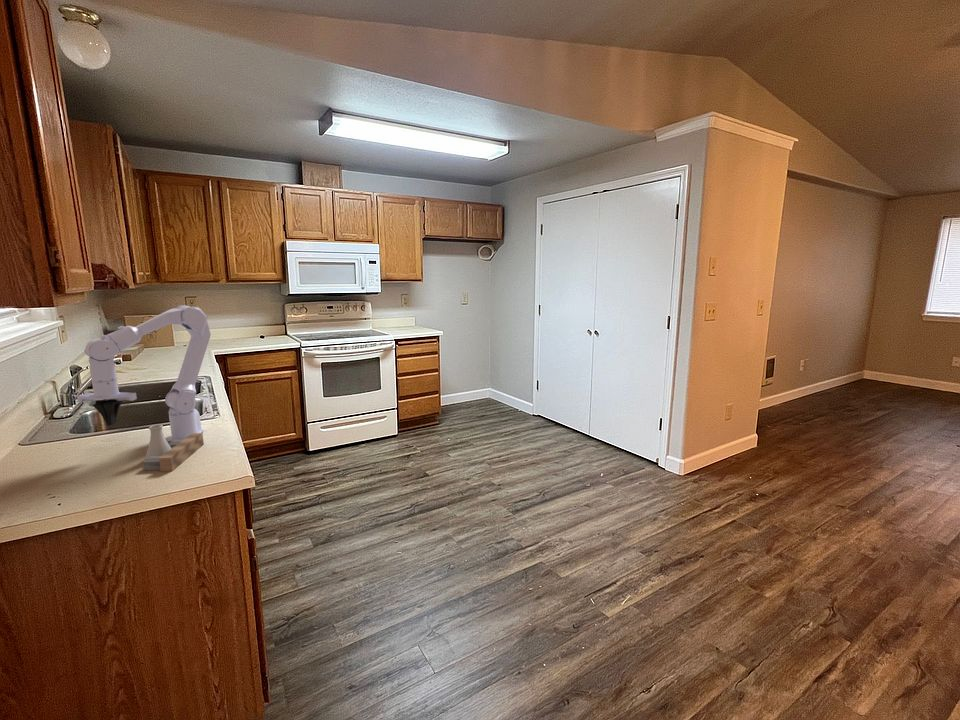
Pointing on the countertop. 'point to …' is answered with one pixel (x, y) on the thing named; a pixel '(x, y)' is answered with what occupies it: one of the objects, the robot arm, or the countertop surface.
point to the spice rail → (175, 453)
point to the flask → (157, 442)
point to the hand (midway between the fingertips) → (111, 424)
